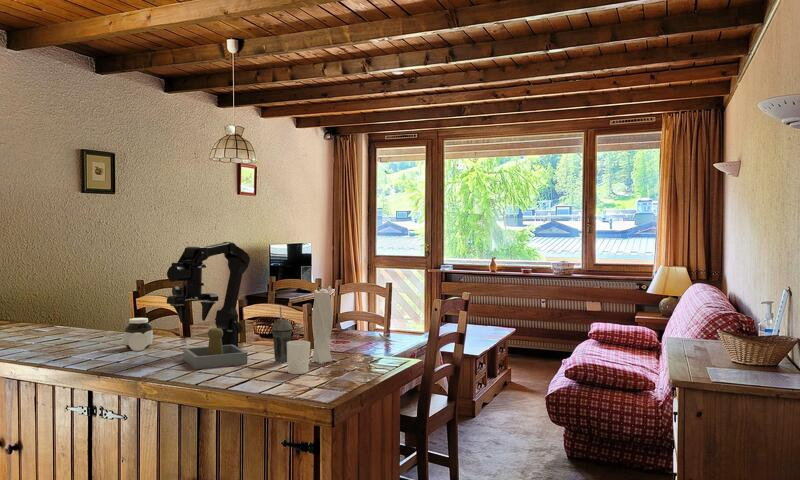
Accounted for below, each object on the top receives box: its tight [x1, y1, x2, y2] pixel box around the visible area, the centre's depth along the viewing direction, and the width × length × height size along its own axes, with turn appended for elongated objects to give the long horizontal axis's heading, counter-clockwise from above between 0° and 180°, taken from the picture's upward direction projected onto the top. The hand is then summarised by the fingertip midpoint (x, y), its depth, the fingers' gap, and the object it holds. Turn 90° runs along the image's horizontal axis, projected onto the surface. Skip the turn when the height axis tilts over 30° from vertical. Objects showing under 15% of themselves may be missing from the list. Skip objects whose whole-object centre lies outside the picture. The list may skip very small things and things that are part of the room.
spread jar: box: [123, 317, 154, 352], centre depth 229 cm, size 12×11×12 cm
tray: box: [183, 345, 248, 370], centre depth 208 cm, size 18×18×4 cm
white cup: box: [286, 339, 311, 375], centre depth 194 cm, size 8×8×10 cm
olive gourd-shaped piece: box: [207, 327, 223, 356], centre depth 208 cm, size 6×6×11 cm
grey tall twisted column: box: [309, 285, 334, 365], centre depth 211 cm, size 8×8×28 cm
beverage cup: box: [271, 306, 293, 364], centre depth 210 cm, size 7×7×20 cm
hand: (192, 321), depth 216 cm, fingers open, 9 cm apart
